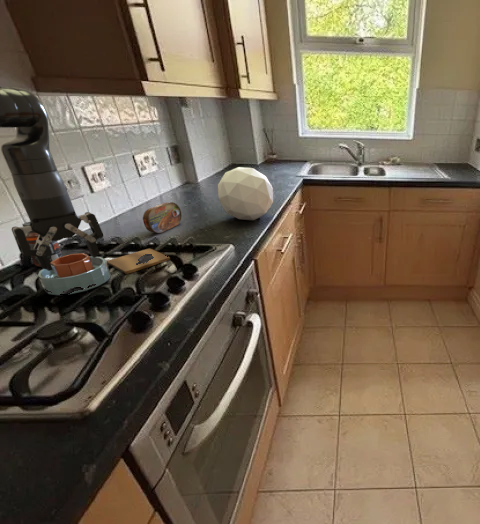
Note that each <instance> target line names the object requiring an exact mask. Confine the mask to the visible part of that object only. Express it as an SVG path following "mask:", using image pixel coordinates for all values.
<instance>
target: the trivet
mask: <svg viewBox="0 0 480 524" xmlns="http://www.w3.org/2000/svg"><path fill="white" fill-rule="evenodd" d="M145 254H152V256H153V257H154V258H153V259H151V260H149V261H148V262H147V263H146V262H145V263H144V264H143V263H141V264H138V265H136V263H138V262H139V261H138V259H139V258H140V257H141V256H143V255H145ZM165 255H166V254H165V253H164V254H163V253H161V252H159V251H157V250H155V249H153V248H146V249H142V250H139V251H135V252H132V253H129V254H125V255H122V256H117V257H115V258H112V259H108V260H106V263H107V265H108V266H111V267H113V268H114V269H116V270H118V271H120V272H121V273H124V274H125V275H128V274H133V273H135V272H138V271H140V270H144V269H147V268H150V267H152V266H156V265H159V264H161V263H164V262H165V263H166V262H168V261H170V260H171V258H170V256H168V255H166V256H165ZM167 256H168V257H167Z"/></svg>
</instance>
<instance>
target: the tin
mask: <svg viewBox="0 0 480 524" xmlns="http://www.w3.org/2000/svg"><path fill="white" fill-rule="evenodd" d="M142 215H143V216H142V221H143V224H144V227H145V229H146V230H147V231H148V232H150V233H154V234H162V233H164V232H166V231H169V230H171V229H173V228H175V227H177V226H179V225H180V223H181V222H182V211H181V208H180V206H179V205H178V204H177V203H176V202H172V201H171V202H170V201H169V202H163V203H160V204H158V205H154V206H152V207H150V208H148V209H146V210H145V211H144V213H143V214H142Z"/></svg>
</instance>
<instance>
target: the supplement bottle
mask: <svg viewBox="0 0 480 524" xmlns="http://www.w3.org/2000/svg"><path fill="white" fill-rule="evenodd" d="M21 225H22V227H25V226H30V221H26V222H24V223H22V224H21ZM38 236H39V234H37V233H35V232H34V231H30V232H29V236H28V237H26V239H27V242H28V245H29V248H30V249H33V248H34V246H35V244H36V240H37V238H38ZM44 254H45V255H46V256H47V258H48V260H49V262H50V265H51V262H52V261H53V260H55V259H57V258H59V257H62V256H64V254H63V252H62V250H61V247H60V245H59V242H58V241H51V242H50V244H49V246H48V247H47V248H46V250H45V252H44ZM30 258H31V260H32V263H33V264H34V266H36V267H39V268H42V267H41V266H40V265H39V263H38V261H37V258H36V256H30Z"/></svg>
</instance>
